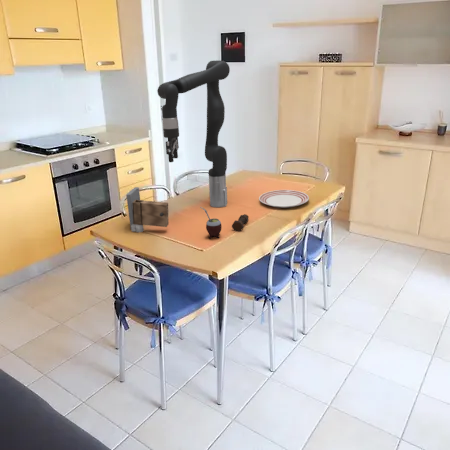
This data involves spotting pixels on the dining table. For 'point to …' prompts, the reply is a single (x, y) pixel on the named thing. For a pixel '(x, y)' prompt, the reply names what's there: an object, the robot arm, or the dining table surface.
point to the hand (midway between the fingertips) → (173, 160)
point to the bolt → (240, 223)
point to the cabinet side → (132, 197)
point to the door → (150, 213)
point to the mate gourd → (213, 227)
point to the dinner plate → (284, 198)
